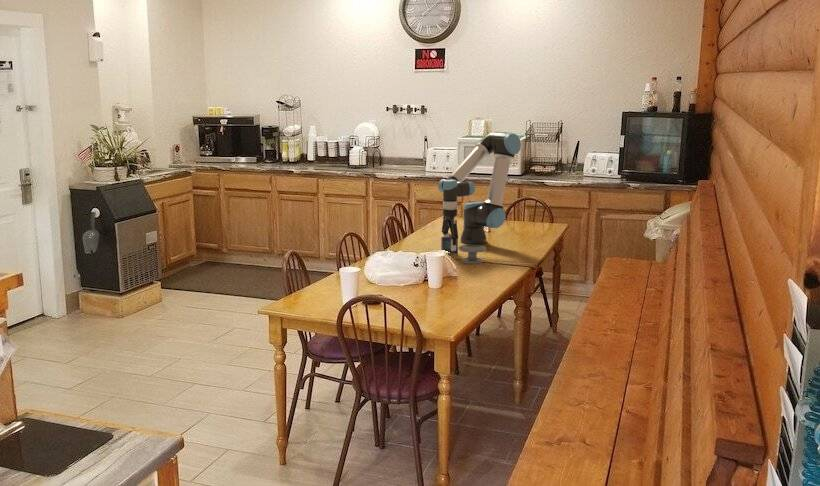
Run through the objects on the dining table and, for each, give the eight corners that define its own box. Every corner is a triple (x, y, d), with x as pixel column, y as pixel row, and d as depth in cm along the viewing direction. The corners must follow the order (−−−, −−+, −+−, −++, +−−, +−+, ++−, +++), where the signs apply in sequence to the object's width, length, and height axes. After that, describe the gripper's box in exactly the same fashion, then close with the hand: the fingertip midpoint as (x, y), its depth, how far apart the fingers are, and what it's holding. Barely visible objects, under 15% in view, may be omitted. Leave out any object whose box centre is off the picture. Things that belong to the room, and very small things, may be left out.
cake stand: (479, 257, 390) (479, 243, 388) (490, 263, 377) (490, 249, 376) (454, 259, 386) (454, 245, 384) (464, 265, 373) (465, 251, 371)
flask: (440, 253, 401) (440, 233, 398) (442, 251, 403) (442, 232, 401) (457, 254, 398) (457, 234, 396) (458, 253, 401) (458, 233, 398)
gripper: (435, 205, 405) (435, 244, 410) (451, 212, 383) (451, 253, 388) (448, 204, 407) (448, 243, 412) (464, 211, 386) (464, 252, 390)
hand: (449, 248), depth 400 cm, fingers open, 11 cm apart
